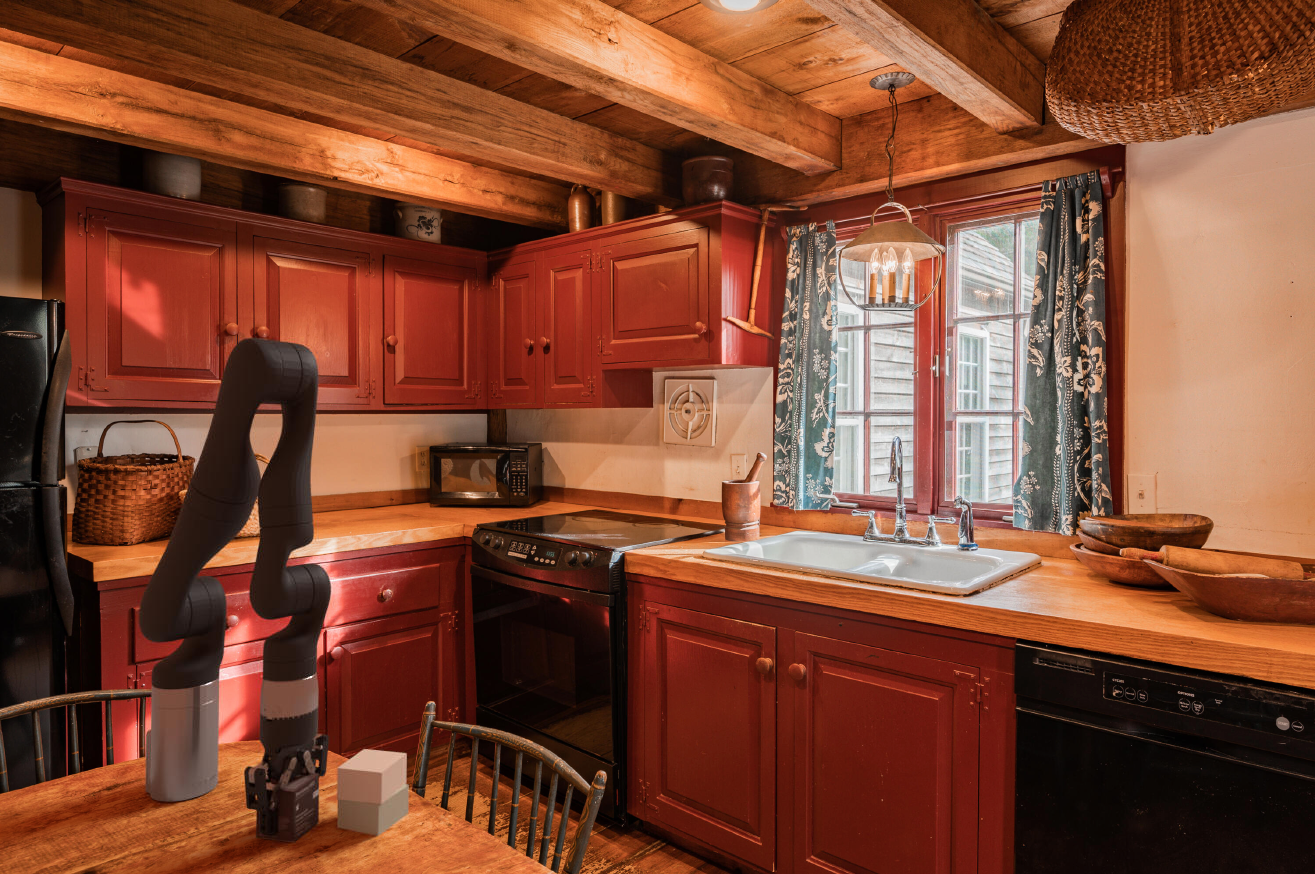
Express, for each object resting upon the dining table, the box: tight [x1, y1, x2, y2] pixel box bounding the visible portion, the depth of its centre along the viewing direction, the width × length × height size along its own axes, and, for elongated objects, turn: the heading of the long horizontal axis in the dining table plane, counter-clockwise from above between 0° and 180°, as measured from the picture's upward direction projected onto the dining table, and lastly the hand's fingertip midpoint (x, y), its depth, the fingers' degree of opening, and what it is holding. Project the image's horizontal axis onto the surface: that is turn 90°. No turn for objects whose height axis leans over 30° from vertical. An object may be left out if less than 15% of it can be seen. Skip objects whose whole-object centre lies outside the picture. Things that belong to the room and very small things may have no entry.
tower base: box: [336, 783, 410, 837], centre depth 117 cm, size 7×7×4 cm
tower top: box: [336, 748, 408, 804], centre depth 117 cm, size 7×7×4 cm
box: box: [255, 773, 320, 843], centre depth 114 cm, size 6×6×7 cm
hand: (287, 822), depth 114 cm, fingers closed on box, 6 cm apart
